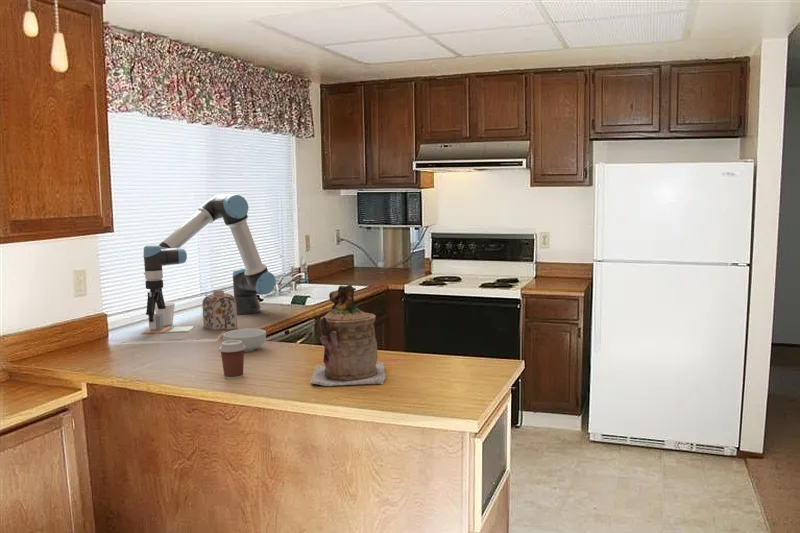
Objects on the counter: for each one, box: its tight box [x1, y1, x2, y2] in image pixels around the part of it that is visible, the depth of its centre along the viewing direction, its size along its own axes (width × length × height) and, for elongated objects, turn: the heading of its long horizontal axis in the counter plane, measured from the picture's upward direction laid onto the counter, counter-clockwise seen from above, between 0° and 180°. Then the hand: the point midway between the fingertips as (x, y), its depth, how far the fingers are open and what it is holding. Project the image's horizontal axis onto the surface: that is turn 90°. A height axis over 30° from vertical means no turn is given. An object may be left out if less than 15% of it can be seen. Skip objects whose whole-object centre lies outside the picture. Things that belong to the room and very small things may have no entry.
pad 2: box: [167, 325, 195, 334], centre depth 320 cm, size 9×11×1 cm
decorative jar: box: [202, 289, 238, 332], centre depth 324 cm, size 12×12×18 cm
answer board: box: [140, 325, 198, 335], centre depth 319 cm, size 22×14×2 cm, turn 93°
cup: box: [154, 301, 176, 327], centre depth 333 cm, size 10×10×11 cm
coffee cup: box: [218, 340, 246, 380], centre depth 240 cm, size 9×9×12 cm
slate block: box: [150, 313, 164, 331], centre depth 319 cm, size 4×4×7 cm
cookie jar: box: [310, 284, 387, 387], centre depth 235 cm, size 25×25×32 cm
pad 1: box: [143, 326, 171, 334], centre depth 319 cm, size 9×11×1 cm
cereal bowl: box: [222, 327, 267, 353], centre depth 281 cm, size 17×17×7 cm
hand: (157, 326), depth 319 cm, fingers open, 13 cm apart
